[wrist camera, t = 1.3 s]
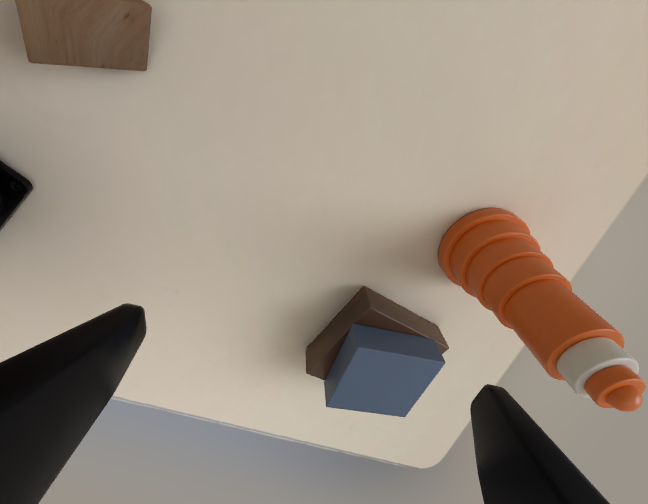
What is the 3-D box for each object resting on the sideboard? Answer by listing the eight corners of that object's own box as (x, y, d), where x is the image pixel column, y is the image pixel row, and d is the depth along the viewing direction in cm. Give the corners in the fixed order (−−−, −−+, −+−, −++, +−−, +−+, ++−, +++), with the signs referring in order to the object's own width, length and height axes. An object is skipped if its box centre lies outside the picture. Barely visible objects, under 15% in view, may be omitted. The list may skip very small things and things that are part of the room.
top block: (397, 392, 27) (405, 417, 25) (323, 381, 26) (325, 407, 24) (434, 338, 24) (446, 362, 22) (352, 322, 22) (357, 347, 21)
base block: (376, 379, 30) (382, 403, 28) (305, 349, 27) (305, 373, 25) (438, 326, 27) (449, 348, 25) (364, 285, 24) (370, 306, 22)
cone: (461, 293, 25) (579, 465, 14) (422, 244, 22) (532, 410, 12) (535, 249, 23) (730, 407, 13) (502, 189, 21) (714, 328, 10)
